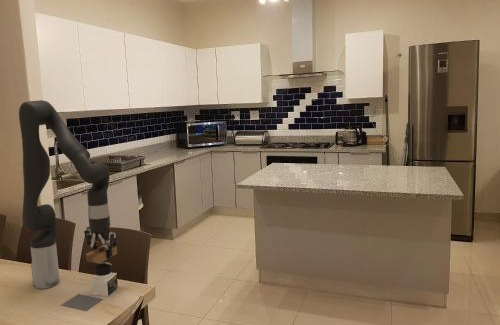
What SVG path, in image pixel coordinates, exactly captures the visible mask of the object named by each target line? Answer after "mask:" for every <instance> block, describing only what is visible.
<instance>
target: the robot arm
mask: <svg viewBox="0 0 500 325" xmlns="http://www.w3.org/2000/svg"><path fill="white" fill-rule="evenodd" d="M18 110H19V111H18V119H19V127H20V135H21V145H22V174H23V176H22V177H23V202H22V212H21V213H22V215H21V216H22V217H21V219H22V224H23V227H24V229H25V230H26V231H28V232H31V233H32V232H36V231H38V230H39V231H38V232H37V233H36V234H35V235H34V236H32V237H31V239H30V240H29V244H30V254H31V255H30V256H31V263H30V268H31V276H32V284H33V286H34V287H35V288H36V289H38V290H40V289H41V290H44V289H50V288H52V287H55V286H57V285H58V284H60V280H61V279H60V270H59V269H60V268H59V261H58V260H59V259H58V249H57V240H56V239H57V217H56V216H57V215H56V211H55V209H54V207H53V206H52V205H50V204H48V203H46V204H45V203H44V204H41V205H38V202H39V199H40V196H41V193H42V191H43V190H44V189H45V187H46V186H47V183H48V181H49V179H50V176H51V159H50V156H49V154H48V152H47V150H46V149H45V147H44V146H43V144H42V141H41V139H40V138H41V137H40V126H43V125H45V126H46V127H47V128H48V129H50V130H51V131H52V133H53V134H54V135H55V138H56V141H57V144H58V147H59V149H60V151H61V153H63V155H65V156H66V158H67V159H68V160H69V161H70V163H72V164H73V165H74V168H75V170H76V171H77V173H78V175H79V177H80V178H81V179H82V180H83V181H84V182H85V183H87V184H90V185H91V187H90V188H89V189H88V191H87V194H86V196H87V197H86V198H87V215H88V227H89V228H88V229H85V230H84V232H83V233H84V239H85V243H86V245H87V246H89V247H90V248H91V251H93V250H95V249H97V248H99V246H98V243H99V242H101V243H102V246H103V245H105V248H106V249H107V250H106V257H107V260H109V259H111V258H112V257H113V256H112V249H113V248H114V247H116V246H117V245H118V244H117V243H118V241H117V240H118V239H117V238H118V232H111V230H110V227H111V217H110V207H109V201H108V188H109V182H110V177H111V176H110V170H109V167H108V165H107V164H106V163H104V162H102V161H98V162H95V163H91V161H90V158H91V153H90V152H89V150H88V149H87V148H86V147H85V146H84V145H83V144H82V143H81V142H80V141H79V140H78V138H76V137H75V135H74V134H73V133H72V131H71V130H70V129H69V127H68V126H67V125H66V123H65V122H64V120H63V119H62V117H61V116H60V115H59V113H58V112H57V110H56V109H55V107H54V106H53V105H52V104H51V103H50V102H48V101H47V100H27V101H24V102H22V103H21V105H20V106H19V108H18ZM108 245H109V246H108Z"/></svg>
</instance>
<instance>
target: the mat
mask: <svg viewBox="0 0 500 325" xmlns="http://www.w3.org/2000/svg"><path fill="white" fill-rule="evenodd" d="M103 300H104V298H99V297H95V296H90V295H86V294H81V293H78V294H76V295H75V296H73V297H70V299H68V300H66V301H65V302H63V303H61V304H60V306H62V307H66V308H70V309H74V310H79V311H82V312H88V311H89V310H90V309H92V308H93V307H95V306H96V305H97V304H99V303H101V302H102V301H103Z"/></svg>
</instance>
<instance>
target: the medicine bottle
mask: <svg viewBox="0 0 500 325" xmlns="http://www.w3.org/2000/svg"><path fill="white" fill-rule="evenodd" d="M112 265H113V264H111V262H105V261H103V262H101V263H100V264H99V263H97V264H96V265H95V267H94V271H95V276H94V277H93V278H91V279H90V283H91V295H95V296H103V297H109V296H110V295H112V294H113V293H114V292H115V291H116V290H117V289H118V288H119V287H118V273H117V272H113V268H112Z"/></svg>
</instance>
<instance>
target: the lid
mask: <svg viewBox="0 0 500 325" xmlns="http://www.w3.org/2000/svg"><path fill="white" fill-rule="evenodd" d="M108 246H109V245H108ZM106 250H107V249H106V248H105V245H103V244H102V245H101V246H98V248H97V249H95V250H93V251H92V250H91V251H89V252H87V253H86V254H85V256H86V257H85V258H86V262H88V263H93V264H94V263H95V264H100V263H104V262H105V261H107V260H108V259H107V257H106ZM117 254H118V247H117V246H116V247H114V248H113V249H112V257H114V256H116V255H117Z"/></svg>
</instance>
